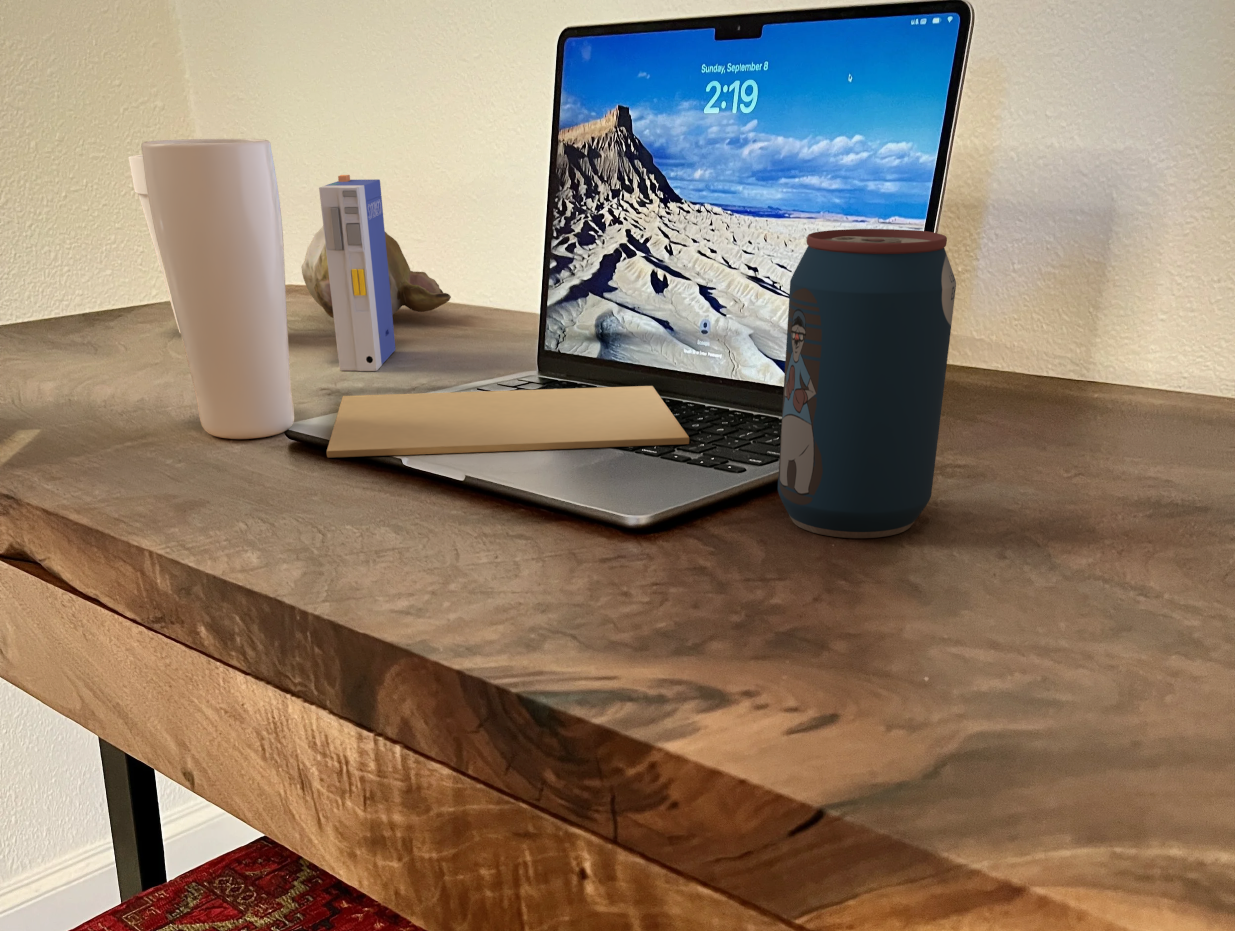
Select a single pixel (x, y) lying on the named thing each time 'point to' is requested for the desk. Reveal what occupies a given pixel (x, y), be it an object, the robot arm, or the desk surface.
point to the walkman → (358, 272)
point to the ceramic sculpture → (404, 283)
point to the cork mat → (502, 421)
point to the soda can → (864, 380)
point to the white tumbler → (225, 277)
